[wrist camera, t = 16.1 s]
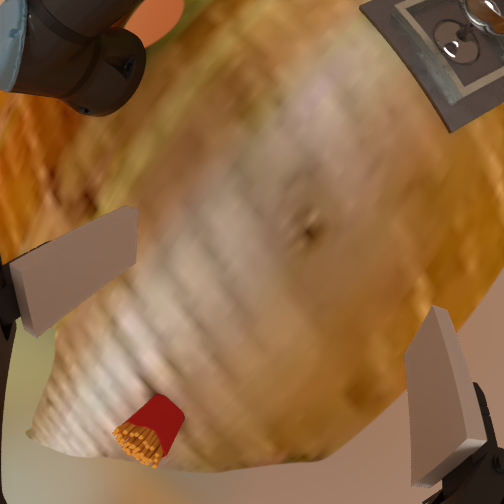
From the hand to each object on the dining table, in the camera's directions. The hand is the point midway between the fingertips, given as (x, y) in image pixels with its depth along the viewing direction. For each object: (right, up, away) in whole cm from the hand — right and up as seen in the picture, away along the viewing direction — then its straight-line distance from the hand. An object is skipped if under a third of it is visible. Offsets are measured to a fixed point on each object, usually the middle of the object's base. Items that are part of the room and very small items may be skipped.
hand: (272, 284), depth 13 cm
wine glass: (+26, +29, +15) cm, 41 cm away
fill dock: (+27, +29, +15) cm, 43 cm away
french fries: (-16, -27, +40) cm, 51 cm away
